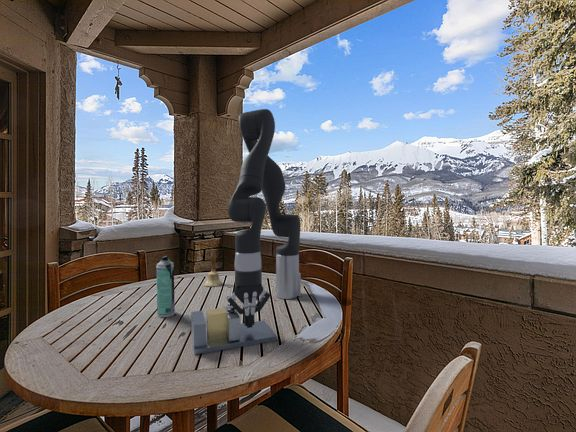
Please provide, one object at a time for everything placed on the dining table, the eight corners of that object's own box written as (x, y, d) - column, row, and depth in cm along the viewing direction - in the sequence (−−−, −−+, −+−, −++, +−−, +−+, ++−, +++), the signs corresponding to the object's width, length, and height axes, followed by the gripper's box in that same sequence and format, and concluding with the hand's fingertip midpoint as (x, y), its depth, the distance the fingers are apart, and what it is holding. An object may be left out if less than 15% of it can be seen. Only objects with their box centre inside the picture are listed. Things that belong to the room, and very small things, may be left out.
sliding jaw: (233, 325, 91) (233, 302, 91) (240, 339, 82) (240, 314, 82) (223, 326, 90) (222, 303, 90) (229, 341, 81) (229, 315, 81)
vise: (264, 324, 96) (264, 301, 96) (276, 340, 85) (276, 315, 85) (191, 335, 88) (190, 310, 88) (194, 354, 77) (193, 326, 77)
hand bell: (208, 281, 146) (208, 248, 145) (225, 282, 145) (224, 249, 144) (201, 286, 138) (200, 251, 137) (218, 287, 137) (218, 252, 136)
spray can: (178, 312, 106) (177, 255, 105) (167, 318, 101) (165, 258, 100) (165, 310, 108) (164, 254, 107) (153, 316, 103) (152, 257, 102)
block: (224, 331, 88) (224, 307, 87) (227, 337, 84) (226, 312, 84) (206, 334, 86) (206, 309, 86) (208, 340, 82) (208, 314, 82)
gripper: (227, 272, 81) (228, 336, 82) (274, 267, 86) (275, 327, 87) (222, 266, 88) (224, 325, 89) (266, 262, 93) (267, 318, 94)
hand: (249, 326), depth 88 cm, fingers closed
